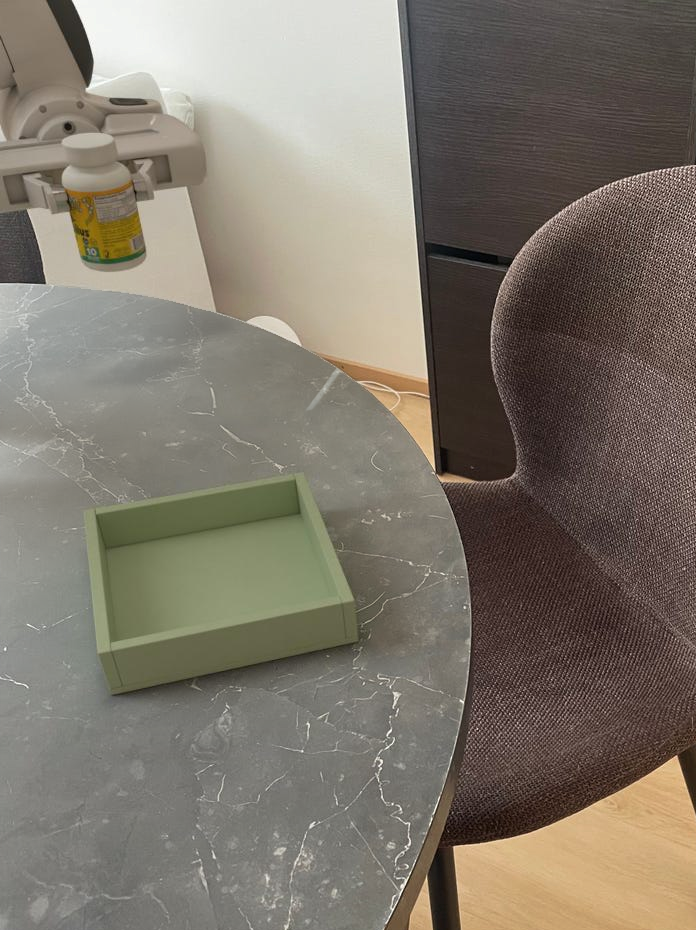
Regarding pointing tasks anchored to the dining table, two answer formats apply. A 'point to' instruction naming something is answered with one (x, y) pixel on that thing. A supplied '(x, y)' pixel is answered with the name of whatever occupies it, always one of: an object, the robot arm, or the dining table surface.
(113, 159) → the supplement bottle
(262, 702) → the dining table surface
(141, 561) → the tray
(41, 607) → the dining table surface
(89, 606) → the dining table surface
